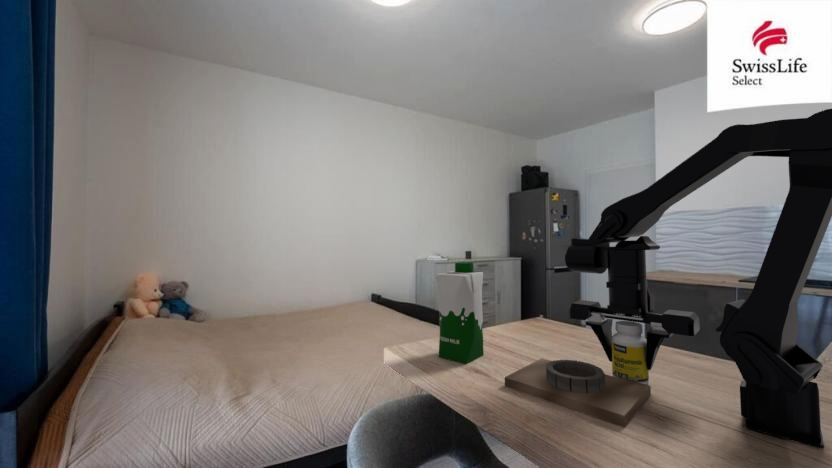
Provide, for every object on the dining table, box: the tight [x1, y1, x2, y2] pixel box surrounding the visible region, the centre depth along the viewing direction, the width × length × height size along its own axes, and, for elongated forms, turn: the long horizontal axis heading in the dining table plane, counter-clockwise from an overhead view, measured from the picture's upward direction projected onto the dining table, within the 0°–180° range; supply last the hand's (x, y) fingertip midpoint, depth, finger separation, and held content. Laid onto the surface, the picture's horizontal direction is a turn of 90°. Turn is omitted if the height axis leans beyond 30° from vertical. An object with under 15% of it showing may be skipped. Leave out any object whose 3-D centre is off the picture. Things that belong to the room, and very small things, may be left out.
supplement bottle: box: [611, 320, 650, 385], centre depth 59 cm, size 5×5×10 cm
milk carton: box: [434, 261, 485, 365], centre depth 73 cm, size 9×9×20 cm
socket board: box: [504, 358, 652, 428], centre depth 55 cm, size 18×13×4 cm
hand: (629, 365), depth 59 cm, fingers closed on supplement bottle, 5 cm apart
